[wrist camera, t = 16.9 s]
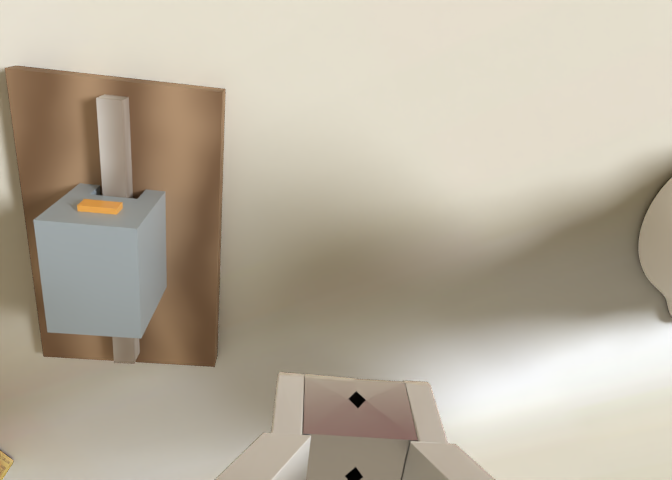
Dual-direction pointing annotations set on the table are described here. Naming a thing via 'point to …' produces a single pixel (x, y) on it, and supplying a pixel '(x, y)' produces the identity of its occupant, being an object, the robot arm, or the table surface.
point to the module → (102, 262)
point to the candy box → (4, 464)
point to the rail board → (157, 167)
